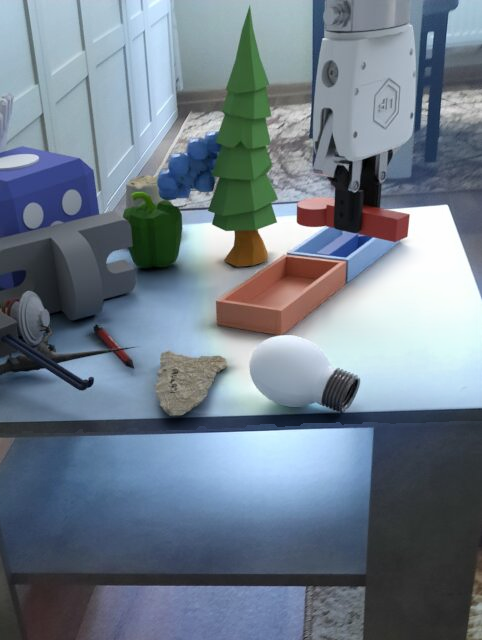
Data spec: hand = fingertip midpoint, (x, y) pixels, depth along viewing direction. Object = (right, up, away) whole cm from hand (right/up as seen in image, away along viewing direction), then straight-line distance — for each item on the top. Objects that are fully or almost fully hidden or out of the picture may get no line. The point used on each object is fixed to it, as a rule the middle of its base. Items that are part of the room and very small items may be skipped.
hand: (356, 225), depth 89 cm
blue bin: (+6, +9, +30) cm, 32 cm away
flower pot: (-22, +25, +40) cm, 52 cm away
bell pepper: (-20, +10, +36) cm, 42 cm away
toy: (-42, +19, +48) cm, 67 cm away
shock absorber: (-48, -3, +21) cm, 52 cm away
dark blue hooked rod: (-48, -1, +17) cm, 51 cm away
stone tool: (-16, -11, +9) cm, 21 cm away
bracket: (-33, +6, +25) cm, 42 cm away
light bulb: (-2, -19, -5) cm, 20 cm away
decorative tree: (-8, +10, +34) cm, 36 cm away
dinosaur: (-33, -7, +14) cm, 36 cm away
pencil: (-25, -9, +14) cm, 30 cm away
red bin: (-4, -1, +20) cm, 20 cm away
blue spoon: (+6, +9, +30) cm, 32 cm away
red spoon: (-1, 0, +1) cm, 1 cm away
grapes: (-13, +21, +35) cm, 43 cm away
